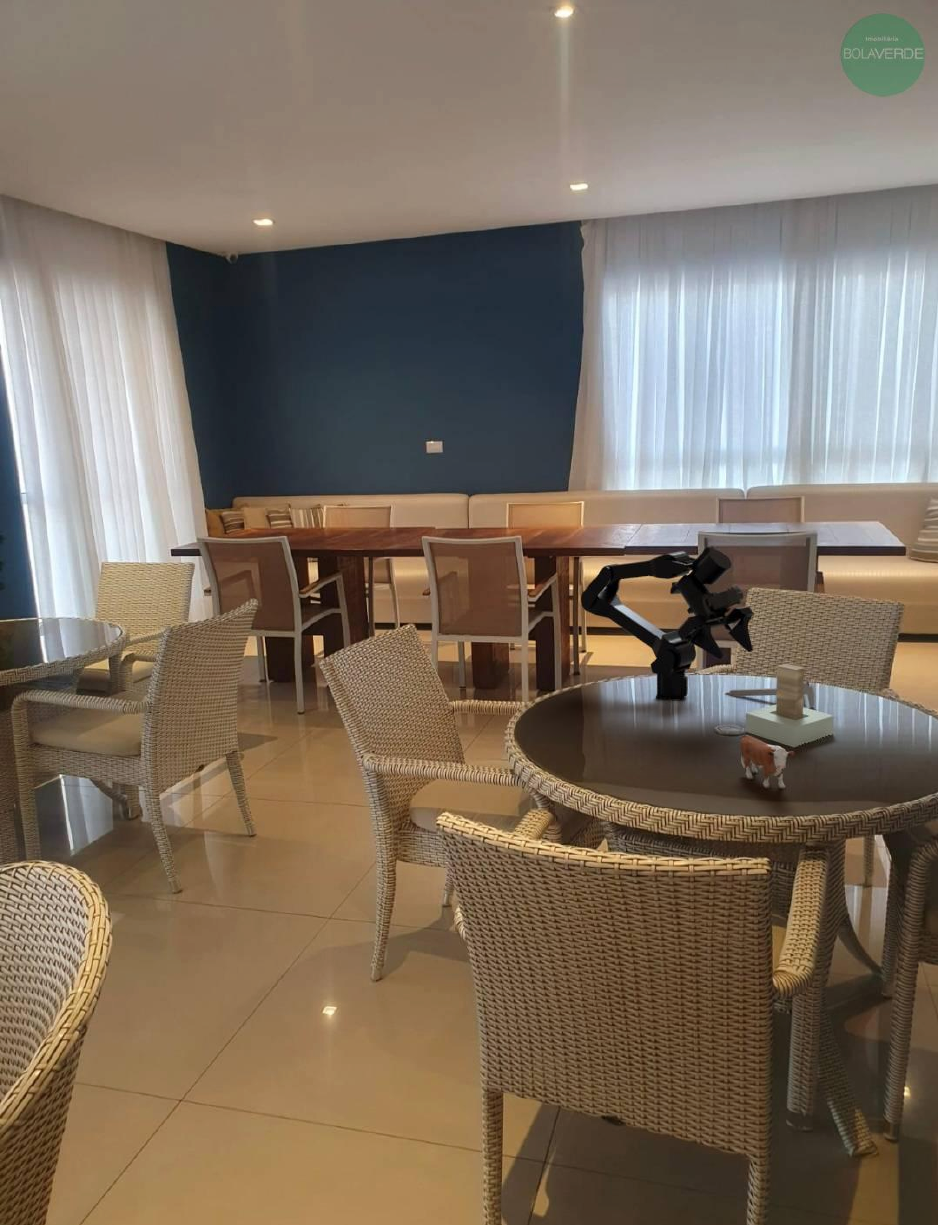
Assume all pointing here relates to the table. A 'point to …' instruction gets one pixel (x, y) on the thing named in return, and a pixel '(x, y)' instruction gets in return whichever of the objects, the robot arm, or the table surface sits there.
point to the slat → (790, 691)
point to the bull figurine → (763, 758)
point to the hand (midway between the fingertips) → (736, 654)
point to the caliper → (773, 693)
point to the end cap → (789, 726)
